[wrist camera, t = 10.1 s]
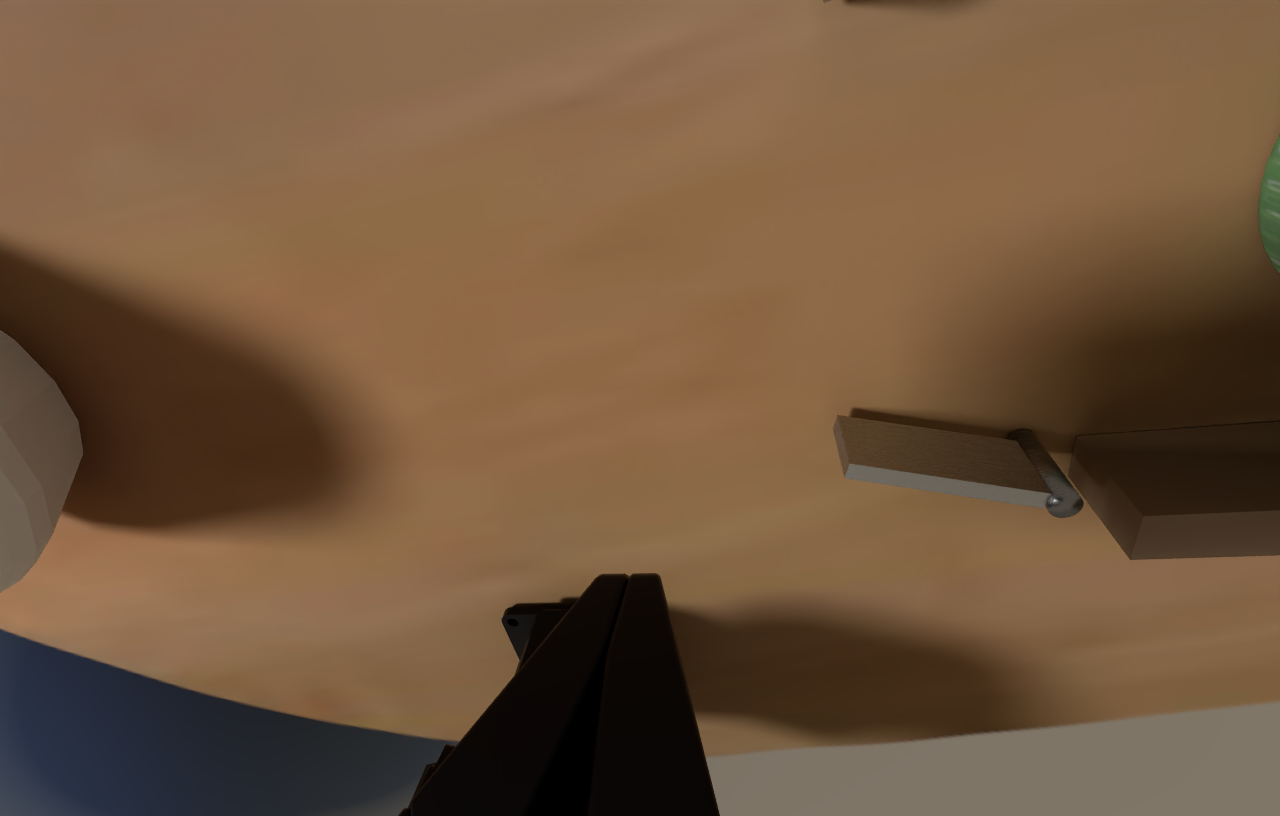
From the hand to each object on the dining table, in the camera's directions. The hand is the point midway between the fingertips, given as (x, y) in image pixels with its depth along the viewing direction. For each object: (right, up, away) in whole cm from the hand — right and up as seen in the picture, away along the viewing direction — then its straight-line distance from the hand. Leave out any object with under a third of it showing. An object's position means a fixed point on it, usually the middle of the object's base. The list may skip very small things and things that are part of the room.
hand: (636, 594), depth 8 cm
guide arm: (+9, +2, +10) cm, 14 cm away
